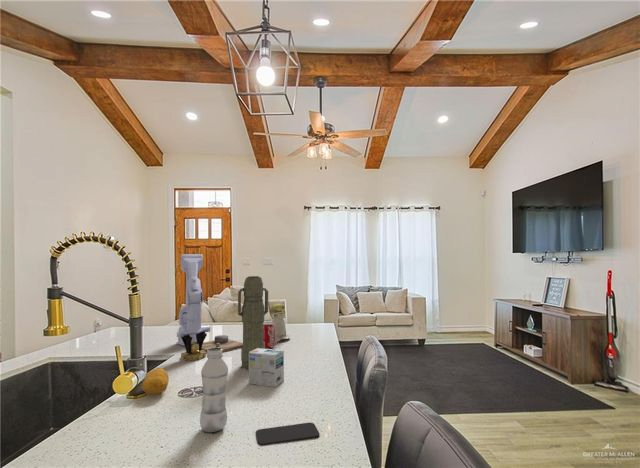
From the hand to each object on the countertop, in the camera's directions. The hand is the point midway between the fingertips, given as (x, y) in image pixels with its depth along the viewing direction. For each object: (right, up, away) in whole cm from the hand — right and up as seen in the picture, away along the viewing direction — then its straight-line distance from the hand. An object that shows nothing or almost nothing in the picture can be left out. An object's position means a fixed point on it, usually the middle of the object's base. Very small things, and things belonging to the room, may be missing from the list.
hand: (193, 351), depth 156 cm
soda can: (+29, -3, +13) cm, 32 cm away
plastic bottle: (+27, 0, -63) cm, 68 cm away
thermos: (+27, -2, -11) cm, 30 cm away
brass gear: (0, -2, 0) cm, 2 cm away
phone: (+46, 0, -65) cm, 80 cm away
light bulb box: (+35, -1, -30) cm, 46 cm away
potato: (+1, -1, -39) cm, 39 cm away
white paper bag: (+32, -4, +32) cm, 45 cm away
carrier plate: (+6, -3, +17) cm, 18 cm away
